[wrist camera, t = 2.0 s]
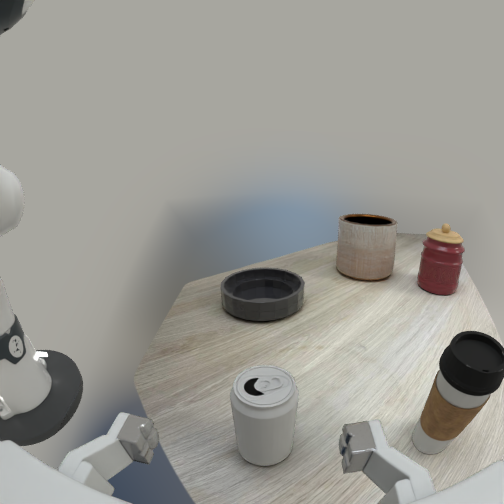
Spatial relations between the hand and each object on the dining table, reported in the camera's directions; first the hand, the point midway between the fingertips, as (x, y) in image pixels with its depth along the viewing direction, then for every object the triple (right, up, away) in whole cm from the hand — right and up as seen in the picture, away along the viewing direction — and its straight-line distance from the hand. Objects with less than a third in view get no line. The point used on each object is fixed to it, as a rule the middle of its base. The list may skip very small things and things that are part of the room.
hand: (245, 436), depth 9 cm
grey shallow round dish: (+3, -4, +53) cm, 53 cm away
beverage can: (+2, -16, +17) cm, 23 cm away
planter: (+34, +2, +68) cm, 76 cm away
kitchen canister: (+52, -2, +53) cm, 74 cm away
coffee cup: (+23, -16, +13) cm, 31 cm away
